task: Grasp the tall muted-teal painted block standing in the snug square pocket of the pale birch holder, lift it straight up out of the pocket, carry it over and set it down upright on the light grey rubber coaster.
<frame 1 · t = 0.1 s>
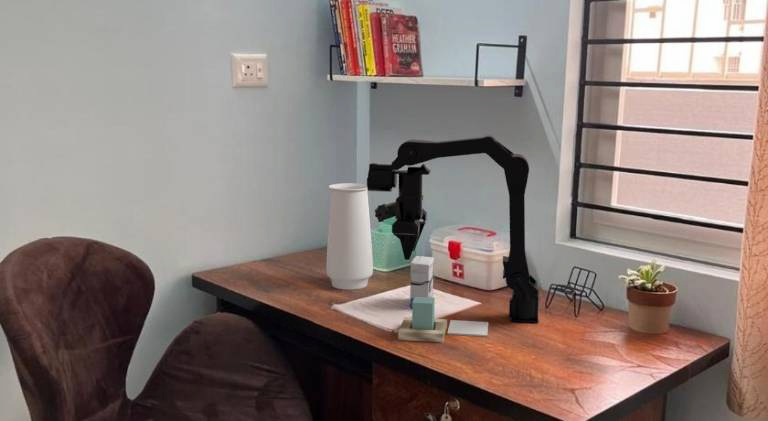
hand: (409, 255, 185), 15 cm above the table, fingers open, 9 cm apart
teal block: (423, 317, 172), in the birch holder
ink box: (421, 304, 194), on the table
vase: (349, 285, 211), on the table
grey coaster: (468, 328, 175), on the table
birch holder: (423, 333, 172), on the table
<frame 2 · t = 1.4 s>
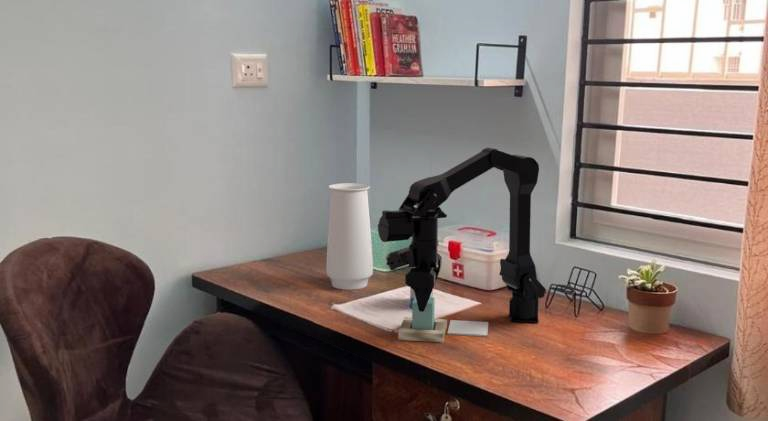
hand: (423, 305, 171), 7 cm above the table, fingers open, 9 cm apart
nothing on the table moved.
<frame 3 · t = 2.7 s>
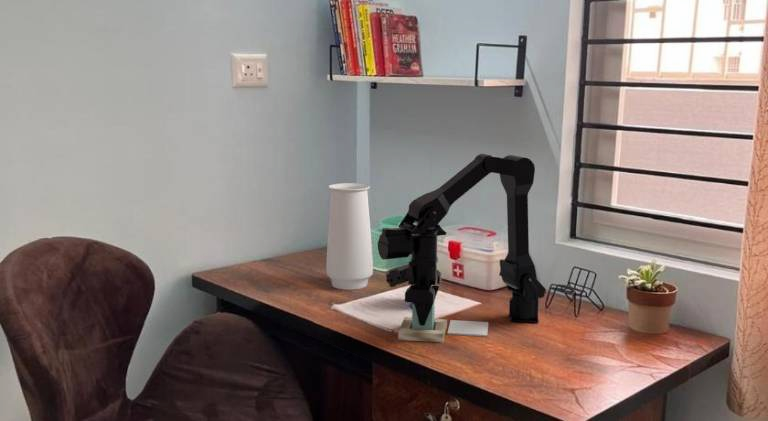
hand: (423, 321, 172), 3 cm above the table, fingers closed on teal block, 4 cm apart
teal block: (423, 316, 172), in the birch holder, touching gripper
everything else where it was.
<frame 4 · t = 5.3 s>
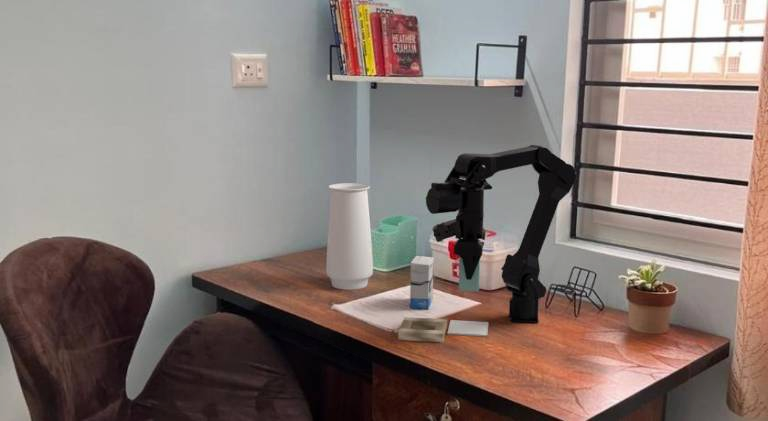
hand: (469, 276, 173), 13 cm above the table, fingers closed on teal block, 4 cm apart
teal block: (469, 271, 173), point 14 cm above the table, touching gripper
everything else where it was.
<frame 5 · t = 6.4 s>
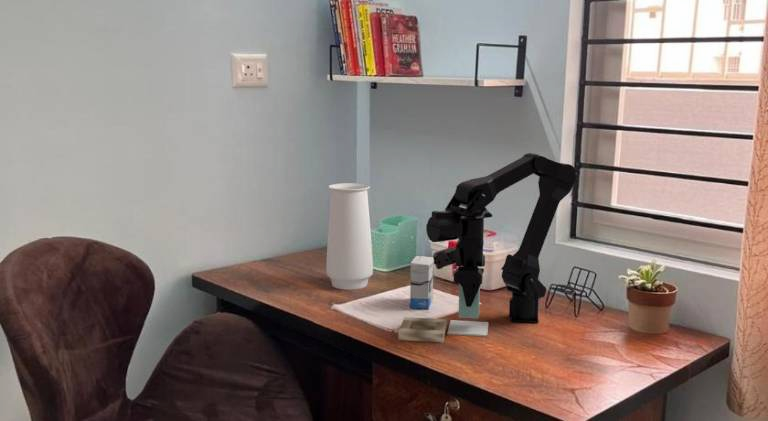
hand: (469, 303, 174), 6 cm above the table, fingers closed on teal block, 4 cm apart
teal block: (469, 298, 174), point 7 cm above the table, touching gripper
everything else where it was.
when the fingers open (4 cm above the table, at t = 7.6 s): teal block stays where it is, resting on grey coaster.
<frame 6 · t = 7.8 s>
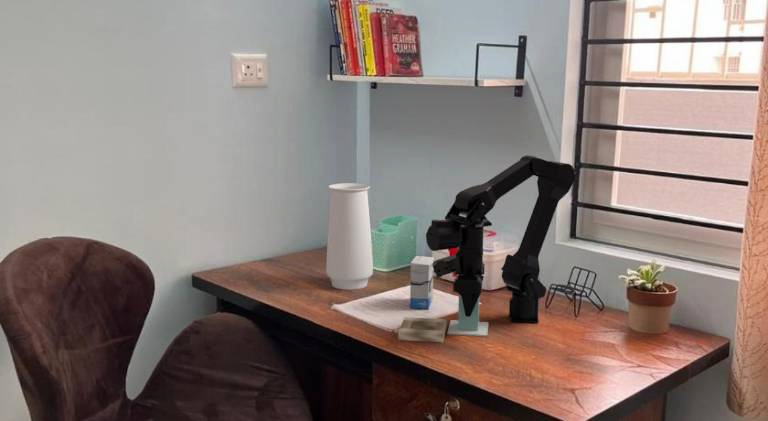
hand: (468, 311, 175), 4 cm above the table, fingers open, 7 cm apart
teal block: (468, 310, 175), on the grey coaster
everything else where it was.
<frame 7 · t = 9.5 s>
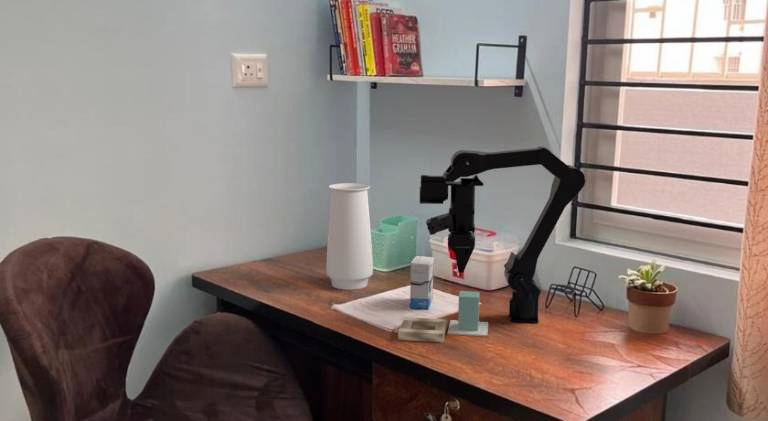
hand: (461, 267, 181), 13 cm above the table, fingers open, 9 cm apart
nothing on the table moved.
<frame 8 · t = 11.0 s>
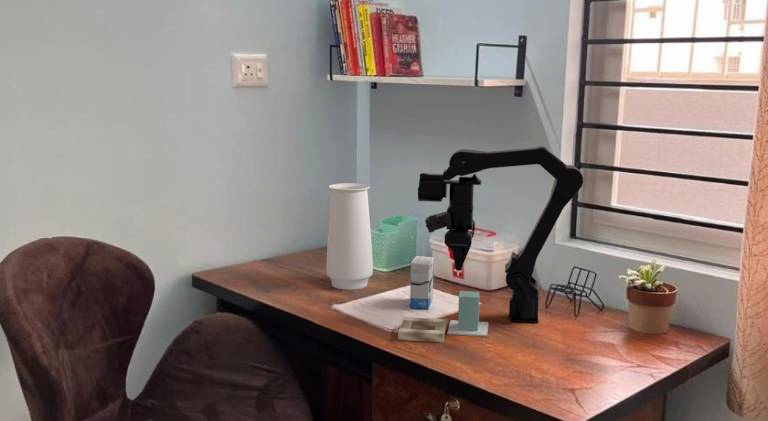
hand: (459, 265, 183), 12 cm above the table, fingers open, 9 cm apart
nothing on the table moved.
at the end: teal block inside the target area on the grey coaster (0.0 cm from its centre), point 4.4 cm above the grey coaster's base; teal block tilted 0°; teal block touching grey coaster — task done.
